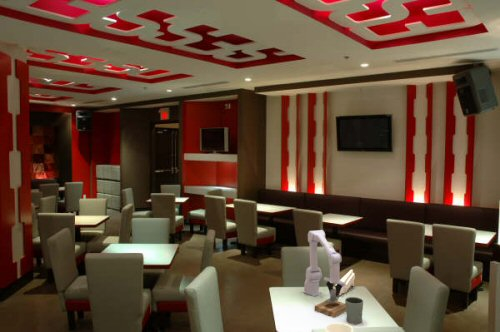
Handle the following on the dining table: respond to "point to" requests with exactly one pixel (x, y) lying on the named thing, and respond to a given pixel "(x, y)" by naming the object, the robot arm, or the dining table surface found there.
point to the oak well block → (331, 308)
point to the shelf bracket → (347, 281)
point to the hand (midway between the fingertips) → (334, 295)
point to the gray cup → (354, 309)
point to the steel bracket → (332, 296)
